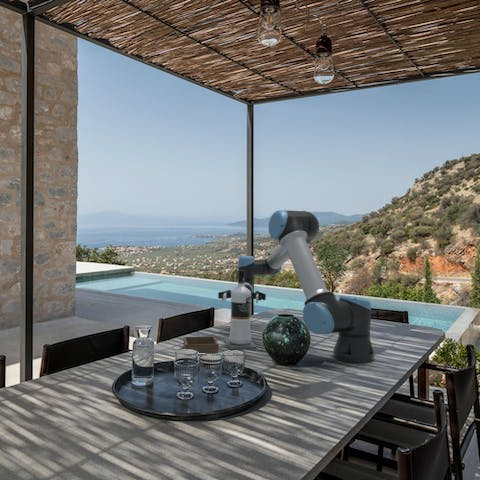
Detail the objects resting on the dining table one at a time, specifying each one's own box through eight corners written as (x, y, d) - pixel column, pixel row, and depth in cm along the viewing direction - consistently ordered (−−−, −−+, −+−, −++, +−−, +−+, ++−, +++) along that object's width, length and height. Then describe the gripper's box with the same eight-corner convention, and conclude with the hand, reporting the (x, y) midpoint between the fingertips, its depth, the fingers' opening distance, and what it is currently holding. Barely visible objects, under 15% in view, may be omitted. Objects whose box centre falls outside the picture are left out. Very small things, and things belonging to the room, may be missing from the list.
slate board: (256, 349, 185) (256, 346, 185) (229, 349, 183) (229, 347, 183) (249, 340, 199) (249, 338, 199) (224, 341, 197) (224, 338, 197)
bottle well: (218, 354, 176) (218, 344, 176) (185, 355, 174) (185, 345, 174) (214, 346, 188) (214, 336, 188) (183, 346, 186) (183, 337, 186)
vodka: (240, 338, 198) (241, 268, 197) (255, 343, 191) (257, 270, 190) (224, 342, 191) (225, 269, 190) (239, 346, 184) (241, 271, 184)
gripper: (271, 300, 210) (270, 309, 189) (216, 299, 212) (210, 307, 191) (271, 284, 210) (271, 290, 188) (217, 282, 212) (210, 288, 190)
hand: (240, 299), depth 189 cm, fingers open, 13 cm apart
